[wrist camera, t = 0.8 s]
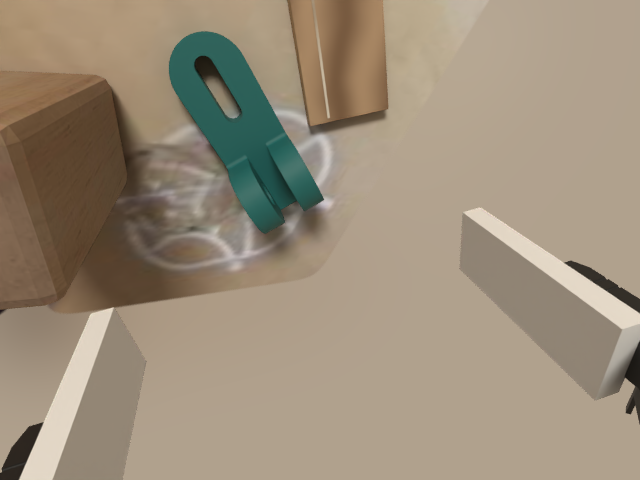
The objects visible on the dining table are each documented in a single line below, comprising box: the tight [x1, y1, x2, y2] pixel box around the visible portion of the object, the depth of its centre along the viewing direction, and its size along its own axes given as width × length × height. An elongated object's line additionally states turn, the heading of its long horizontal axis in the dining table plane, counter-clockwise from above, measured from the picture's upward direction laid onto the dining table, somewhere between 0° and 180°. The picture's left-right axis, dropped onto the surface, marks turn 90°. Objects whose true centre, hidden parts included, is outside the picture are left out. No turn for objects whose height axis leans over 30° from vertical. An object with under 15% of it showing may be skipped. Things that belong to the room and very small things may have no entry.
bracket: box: [169, 31, 324, 234], centre depth 34 cm, size 18×7×8 cm, turn 26°
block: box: [0, 71, 128, 309], centre depth 25 cm, size 10×10×20 cm
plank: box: [287, 0, 388, 126], centre depth 33 cm, size 8×20×1 cm, turn 9°
